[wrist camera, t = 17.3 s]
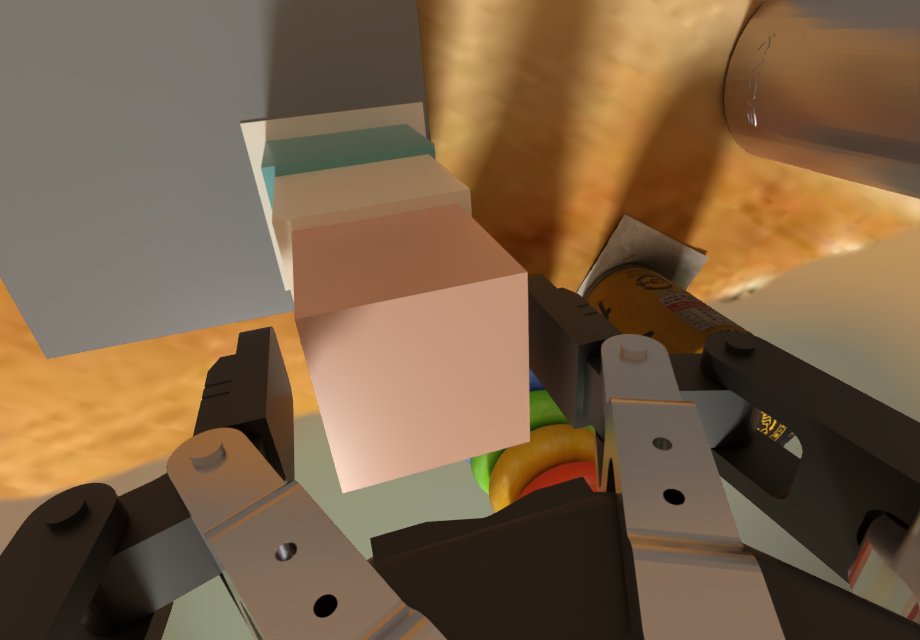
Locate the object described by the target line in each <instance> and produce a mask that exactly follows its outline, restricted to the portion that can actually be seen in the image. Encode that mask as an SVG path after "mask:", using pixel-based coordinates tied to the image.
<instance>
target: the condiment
mask: <svg viewBox="0 0 920 640" xmlns="http://www.w3.org/2000/svg"><path fill="white" fill-rule="evenodd" d="M631 255H634V256H633V257H632V258H629V256H631ZM624 259H627V261H625V262H624V261H623V260H624ZM707 259H708V257H707V256H705V255H703V254H701V253H699V252H697V251H695V250H693V249H691V248H689V247H687V246H685V245H683V244H682V243H680V242H678V241H676V240H674V239H672V238H670V237H668V236H666V235H664V234H662V233H660V232H659V231H657V230H655V229H652V228H651V227H649V226H647V225H645V224H643V223H641V222H639V221H637V220H635V219H633V218H631V217H630V216H628V215H626V214H624V216H623V218H622V219H621V221H620V223H619V225H618V227H617V228H616V230H615V231H614V233H613V234H612V236H611V238H610V239H609V242H608V244H607V246H606V247H605V248H604V250H603V251H602V253H601V255H600V256H599V258H598V260H597V262H596V263H595V264H594V266H593V268H592V270H591V271H590V272H589V274H588V276H587V277H586V278H585V280H584V281H583V283H582V285H581V286H580V288H579V290H578V291H577V294H579V295H580V296H582V297H583V298H584V299H585V300H586V301H587V302H588V303H589V304H590V306H591V305H592V306H593V307H594V308H595V309H596V310H597V311H598V314H599V313H600V314H602V315H603V316H604V317H605V318H606V319H607V320H608V321H609V322H611V323H612V324H613V325H614V326H615V327H616V328H617V329H618V330H619V331H621V332H622V333H623V334H636V335H642V336H646V337H649V338H652V339H654V340H656V341H658V342H659V343H661V344H662V345H663V346H664V347H665V348H666V350H667V352H668V354H686V353H702V351H703V346H704V342H705V339H706V338H707V337H708V336H710V335H712V334H714V333H718V332H725V331H734V332H742V333H747V334H751V335H753V334H752V333H750V332H748V331H746V330H745V329H744V328H742V327H740V326H739V325H737V324H736V323H734V322H733V321H731V320H729V319H728V318H726V317H725V316H723V315H722V314H720V313H718V312H717V311H715V310H714V309H712V308H711V307H709V306H708V305H706V304H705V303H703V302H702V301H700V300H699V299H697V298H696V297H694V296H693V295H691V294H690V293H689V292H687V291H686V289H687V287H688V286H689V284H690V283H691V281H692V280H693V279H694V278H695V277H696V275H697V274H698V273H699V272H700V270H701V269H702V267H703V265H704V264H705V262H706V261H707ZM757 429H758V430H759V431H761V432H762V433H764V434H765V435H767V436H768V437H769V438H771V439H772V440H774V441H775V442H777V443H778V444H779V445H781V446H782V447H784V445H785V443H787V442H789V441H790V440H791V439H792V438H793V436H795V434H794V433H793V432H792V431H791V430H789V429H788V428H786V427H785V426H783V425H782V424H780V423H779V422H777V421H776V420H774V419H773V418H771V417H770V416H768V415H767V414H765V413H764V412H762V411H761V414H760V418H759V421H758V425H757Z"/></svg>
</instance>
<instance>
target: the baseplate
mask: <svg viewBox="0 0 920 640" xmlns="http://www.w3.org/2000/svg"><path fill="white" fill-rule="evenodd" d="M401 124H407V125H409V126H410V127H412V128H413V129H414V130H416V131H417V132H418V133H420V134H421V135H422V136H424V137H425V138H426V139H428V140H429V141H430V132H429V122H428V112H427V102H426V91H425V81H424V71H423V61H422V51H421V40H420V30H419V20H418V10H417V0H0V278H1V279H2V281H3V283H4V285H5V286H6V288H7V290H8V292H9V293H10V295H11V297H12V299H13V300H14V302H15V304H16V306H17V307H18V309H19V311H20V313H21V314H22V316H23V318H24V320H25V321H26V323H27V325H28V327H29V328H30V330H31V332H32V334H33V335H34V337H35V339H36V341H37V342H38V344H39V346H40V348H41V349H42V351H43V353H44V355H45V356H46V358H47V359H49V358H54V357H60V356H65V355H70V354H75V353H80V352H85V351H91V350H96V349H101V348H106V347H111V346H116V345H122V344H127V343H132V342H137V341H142V340H147V339H153V338H158V337H163V336H168V335H173V334H178V333H184V332H189V331H194V330H199V329H204V328H209V327H215V326H220V325H225V324H230V323H235V322H240V321H246V320H251V319H256V318H261V317H266V316H271V315H277V314H282V313H287V312H292V311H294V301H293V297H292V294H291V290H290V287H289V283H288V279H287V276H286V272H285V268H284V265H283V261H282V257H281V254H280V250H279V247H278V243H277V239H276V236H275V232H274V228H273V225H272V209H271V205H270V201H269V197H268V193H267V190H266V186H265V182H264V178H263V174H262V170H261V164H262V158H263V153H264V147H265V142H267V141H274V140H282V139H290V138H298V137H306V136H314V135H322V134H330V133H338V132H346V131H354V130H361V129H369V128H377V127H385V126H393V125H401Z"/></svg>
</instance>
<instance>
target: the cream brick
mask: <svg viewBox="0 0 920 640" xmlns="http://www.w3.org/2000/svg"><path fill="white" fill-rule="evenodd" d="M453 204H459V205H460V206H461V207H462V208H463V209H464V210H465V211H466V212H467V213H468V214H469V215H470V216H471V217H472V209H471V195H470V189H469V188H468V187H467V186H466V185H465V184H463V183H462V182H461V181H460V180H459V179H458V178H456V177H455V176H454V175H453V174H452V173H450V172H449V171H448V170H447V169H446V168H444V167H443V166H442V165H441V164H440V163H439V162H437V161H436V160H435V159H434V158H433V157H431V156H430V155H429V154H426V155H419V156H412V157H406V158H399V159H392V160H385V161H379V162H372V163H365V164H359V165H352V166H345V167H338V168H332V169H325V170H318V171H312V172H305V173H298V174H291V175H285V176H278V177H275V180H274V195H273V211H272V225H273V228H274V232H275V236H276V239H277V243H278V247H279V250H280V254H281V257H282V261H283V265H284V268H285V272H286V276H287V279H288V283H289V287H290V290H291V294H292V297H293V301H294V286H293V259H292V232H293V231H299V230H305V229H311V228H317V227H323V226H329V225H334V224H340V223H346V222H352V221H358V220H364V219H370V218H376V217H382V216H388V215H394V214H400V213H406V212H411V211H417V210H423V209H429V208H435V207H441V206H447V205H453Z"/></svg>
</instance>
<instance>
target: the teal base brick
mask: <svg viewBox="0 0 920 640" xmlns="http://www.w3.org/2000/svg"><path fill="white" fill-rule="evenodd" d="M426 154H429V155H430V156H431V157H433V158H434V159H435V149H434V144H433V143H432V142H430V141H429V140H428V139H426V138H425V137H424V136H422V135H421V134H420V133H418V132H417V131H416V130H414V129H413V128H412V127H410V126H409V125H407V124H401V125H393V126H385V127H377V128H369V129H361V130H354V131H346V132H338V133H330V134H322V135H314V136H306V137H298V138H290V139H282V140H274V141H267V142H265V147H264V153H263V158H262V164H261V170H262V174H263V178H264V182H265V186H266V190H267V193H268V197H269V201H270V205H271V209H272V211H273V195H274V180H275V177H278V176H285V175H291V174H298V173H305V172H312V171H318V170H325V169H332V168H338V167H345V166H352V165H359V164H365V163H372V162H379V161H385V160H392V159H399V158H406V157H412V156H419V155H426Z"/></svg>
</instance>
